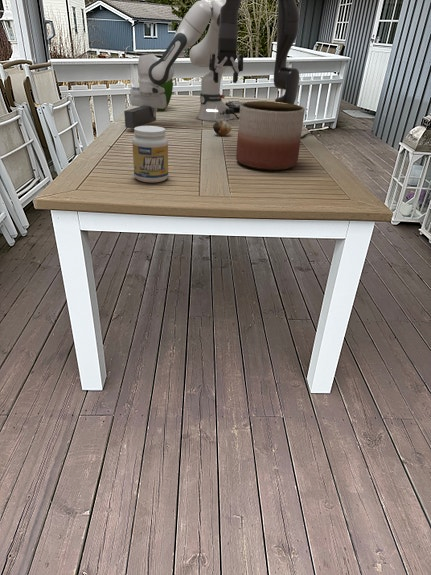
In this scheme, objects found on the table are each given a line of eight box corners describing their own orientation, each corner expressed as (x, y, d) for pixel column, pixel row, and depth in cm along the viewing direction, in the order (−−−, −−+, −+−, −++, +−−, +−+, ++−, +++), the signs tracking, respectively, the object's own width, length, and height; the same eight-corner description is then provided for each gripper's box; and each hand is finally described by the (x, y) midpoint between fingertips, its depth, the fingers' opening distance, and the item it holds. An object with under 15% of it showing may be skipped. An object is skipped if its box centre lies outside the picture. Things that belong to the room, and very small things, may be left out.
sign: (225, 107, 272) (224, 100, 297) (225, 111, 274) (224, 105, 299) (253, 108, 272) (250, 101, 298) (253, 113, 274) (250, 106, 299)
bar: (148, 119, 229) (147, 104, 225) (156, 120, 228) (155, 105, 224) (125, 127, 209) (124, 110, 204) (133, 128, 207) (132, 111, 203)
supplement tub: (139, 184, 140) (136, 133, 131) (130, 174, 149) (127, 125, 140) (173, 181, 144) (172, 131, 135) (162, 172, 153) (161, 124, 144)
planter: (305, 172, 161) (315, 112, 150) (243, 172, 157) (248, 110, 146) (285, 155, 183) (293, 101, 171) (230, 155, 178) (233, 100, 167)
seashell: (229, 134, 215) (230, 118, 210) (231, 136, 210) (232, 120, 206) (212, 134, 213) (212, 117, 209) (213, 136, 209) (214, 119, 204)
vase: (143, 107, 275) (142, 66, 262) (173, 108, 277) (172, 67, 264) (142, 112, 259) (140, 68, 246) (173, 113, 261) (173, 70, 248)
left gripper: (127, 87, 217) (129, 115, 224) (162, 90, 212) (163, 118, 219) (133, 86, 222) (134, 113, 229) (167, 89, 217) (168, 116, 224)
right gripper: (215, 36, 156) (213, 83, 165) (248, 38, 161) (244, 83, 170) (207, 36, 162) (206, 81, 171) (239, 37, 167) (236, 81, 176)
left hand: (148, 116), depth 224 cm, fingers closed on bar, 5 cm apart
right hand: (225, 82), depth 170 cm, fingers open, 8 cm apart
